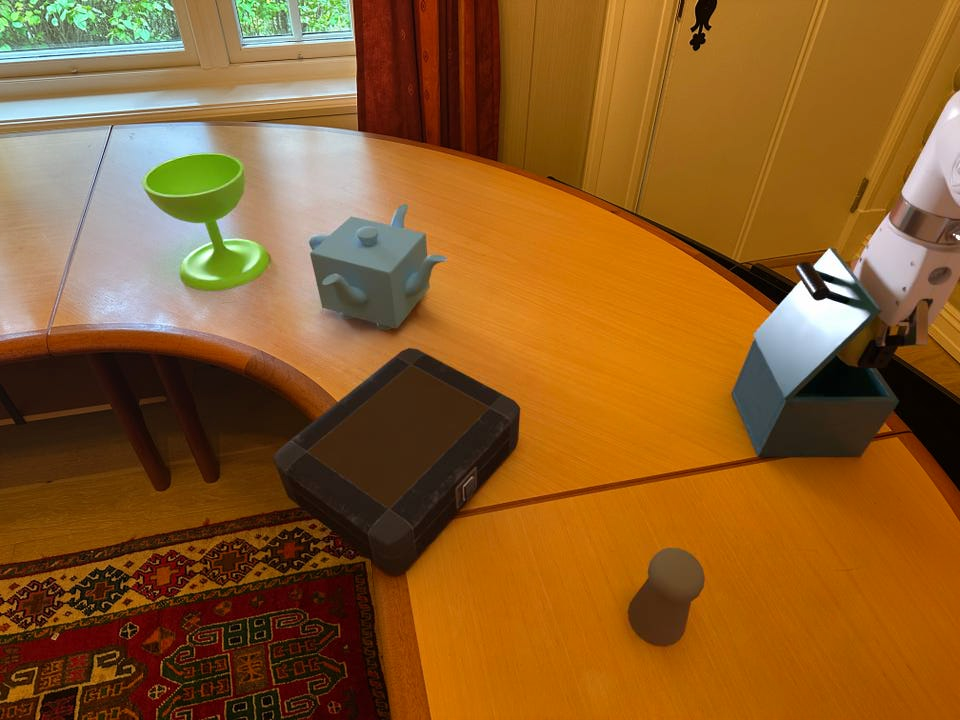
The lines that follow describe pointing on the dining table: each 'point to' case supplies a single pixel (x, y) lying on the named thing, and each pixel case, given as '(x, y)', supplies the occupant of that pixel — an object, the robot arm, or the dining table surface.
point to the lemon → (860, 343)
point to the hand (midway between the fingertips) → (858, 347)
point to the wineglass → (207, 216)
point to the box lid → (814, 322)
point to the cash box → (399, 456)
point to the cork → (666, 597)
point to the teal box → (812, 409)
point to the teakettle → (372, 269)
